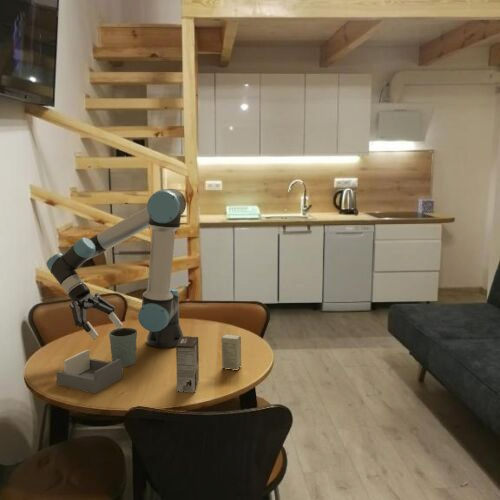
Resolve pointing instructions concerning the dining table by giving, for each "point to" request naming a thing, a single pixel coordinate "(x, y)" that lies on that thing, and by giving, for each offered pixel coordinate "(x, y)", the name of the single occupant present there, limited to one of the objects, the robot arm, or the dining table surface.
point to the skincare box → (231, 351)
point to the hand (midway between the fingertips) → (108, 332)
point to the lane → (93, 376)
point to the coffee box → (187, 364)
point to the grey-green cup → (123, 345)
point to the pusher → (77, 363)
